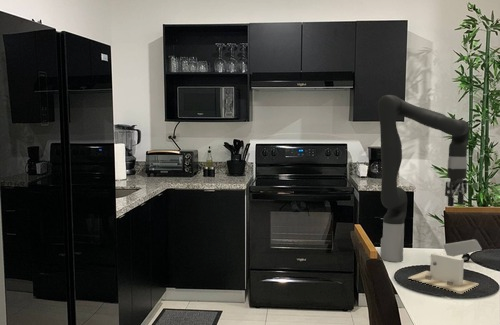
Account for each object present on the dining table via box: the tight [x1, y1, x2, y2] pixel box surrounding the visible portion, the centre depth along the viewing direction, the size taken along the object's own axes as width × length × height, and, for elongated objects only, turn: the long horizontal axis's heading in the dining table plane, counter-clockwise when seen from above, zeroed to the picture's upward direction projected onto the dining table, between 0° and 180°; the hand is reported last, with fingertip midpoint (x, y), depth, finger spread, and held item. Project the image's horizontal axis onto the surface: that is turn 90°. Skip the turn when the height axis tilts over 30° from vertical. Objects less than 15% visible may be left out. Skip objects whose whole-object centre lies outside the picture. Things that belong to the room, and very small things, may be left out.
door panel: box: [429, 252, 465, 286], centre depth 196 cm, size 12×4×10 cm, turn 41°
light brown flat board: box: [407, 270, 480, 295], centre depth 198 cm, size 22×14×2 cm, turn 41°
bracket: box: [443, 238, 483, 263], centre depth 229 cm, size 4×10×15 cm
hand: (455, 205), depth 213 cm, fingers open, 8 cm apart
